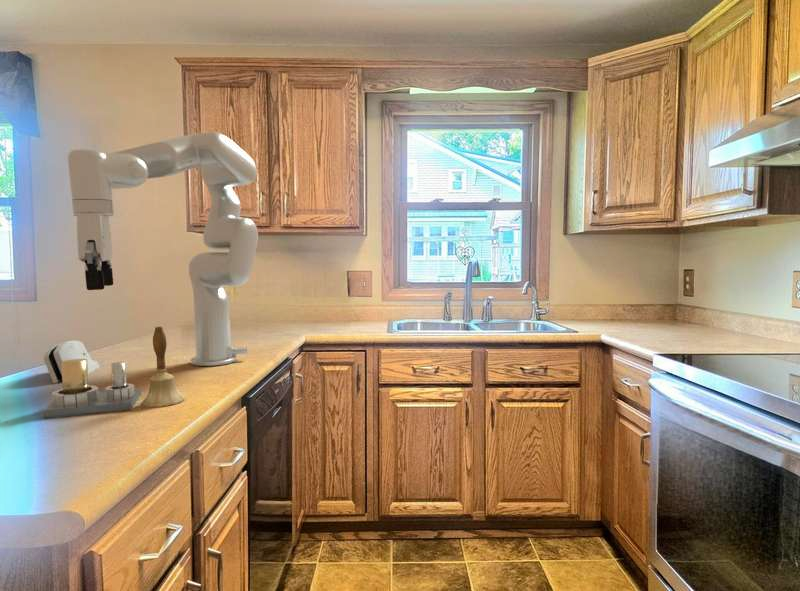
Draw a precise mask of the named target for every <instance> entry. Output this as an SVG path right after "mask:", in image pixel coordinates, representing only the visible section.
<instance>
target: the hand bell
mask: <svg viewBox="0 0 800 591" xmlns="http://www.w3.org/2000/svg"><path fill="white" fill-rule="evenodd" d="M153 332H154V333H153V335H152V345H153V346H152V347H153V350H154V353H155V355H156V356H155V357H156V369H157V370H156V374H155V375H153V376H152V377H151V378H150V382H149V389H148V392H147V395H146V397H145V398H144V399H143V400H142V402H141V406H142V407H145V406H147V407H146V408H163V407H169V406H174V405H177V404H180V403H182V402H184V401H185V399H186V398H185V395H183V394H182V393H181V392H180V390H178V388H177V385H176V383H175V376H174V375H173V374H171V373H168V372H167V368H166V357H165V356H166V352H167V344H168V343H167V336H166V333H165V332H164V330H163V326H155V327H154V331H153Z"/></svg>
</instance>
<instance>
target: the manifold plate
mask: <svg viewBox="0 0 800 591" xmlns="http://www.w3.org/2000/svg"><path fill="white" fill-rule="evenodd" d="M126 364H127V363H126V362H125V361H117V362H111V364H110V365H111V366H110V367H111V385H109V386H106V387H105V388H104V390H99V386H96V385H91V384H90V385H89V384H88V386H89V391H86V392H82V393H77V394H63V388H60V389H56V390H54V391H53V392H51V403H50V404H49V405H48V406H46V407H45V408H43V410H42V418H43V419H49V418H59V417H60V418H62V417H71V416H83V415H95V414H104V413H103V412H105V413H115V412H124V411H123V410H126V411H132V410H133V408H134V407H135V405H136V404H137V402H136V401H138V400H139V399H140V397H141V395H142V388H141V387H136V388H135V385H134V384H133V383H127V368H126V366H127V365H126ZM139 396H140V397H139ZM138 398H139V399H138ZM133 406H134V407H133ZM131 409H132V410H131Z"/></svg>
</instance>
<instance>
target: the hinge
mask: <svg viewBox="0 0 800 591" xmlns="http://www.w3.org/2000/svg"><path fill="white" fill-rule="evenodd" d="M72 359H87V363H88V375H90V374H91V373H93V372H95V371H96V370H95V369H97V368H98V369H100V368H101V367H100V364H99V362H98V361H97V360H93V359H92V357H91V356H90V354H89V352H88V350H87V347H85V345H84V343H83V342H82V341H79V340H69V341H67V340H66V341H64V342H62V343H58V344H56V345H54V346H53V347H51V348H49V349H48V350H47V351H46V353H45V354H44V356H43V361H44V364H45V366H46V368H47V372H48V373H49V376H50V378H51V381H52V383H53V384H56V383H59V382H60V381H62V361H66V360H72ZM99 367H100V368H99ZM98 369H97V370H98ZM94 370H95V371H94ZM92 371H93V372H92ZM90 372H91V373H90ZM89 373H90V374H89Z"/></svg>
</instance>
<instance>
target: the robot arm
mask: <svg viewBox="0 0 800 591" xmlns="http://www.w3.org/2000/svg"><path fill="white" fill-rule="evenodd" d="M67 163H68V164H67V165H68V172H69V173H68V175H69V182H70V183H69V184H70V192H71V203H72V204H71V206H72V213H73V217H76V238H77V239H76V240H77V241H76V242H77V256H78V260H79V261H80V263H84V273H85V286H86V290H87V291H99V290H104V289H105V287H107V286H108V287H109V286H110V287H111V286H113V285H114V276H113V275H114V274H113V268H112V261H111V259H112V258H113V245H112V244H113V243H112V235H111V226H110V220H109V217H114V216H115V215H114V214H115V213H114V204H113V192H112V190H116V189H117V190H118V189H131V188H137V187H140V186H141V185H143V184H145V182H147V179H148V180H149V179H158V178H165V177H171V176H174V175H177V174H180V173H182V172H185V171H189V170H192V169H196V168H199V167H200V176H201V177H202V181H203V183H204V185H205V186H206V188H207V190H208V193H209V196H210V202H211V203H210V208H209V212H208V216H207V220H206V222H205V226H204V229H203V230H204V231H203V237H202V240H203V243H204V245H205V247H206V248H208V249H210V250H213V252H212V251H211V252H208V251H207V252H201V253H198V254H196V255H195V256H193V257H192V258H191V260H190V261H189V264H188V275H189V278H190V283H191V287H192V293H193V294H192V295H193V312H194V313H193V314H194V316H193V317H194V337H195V338H194V339H195V356H194V357H191V358H190V364H191V365H192V366H200V367H204V366H205V367H209V366H210V367H211V366H221V365H228V364H231V363H234V362H236V361H237V360H238V359H237V358H238V356H237V355H247V354H248V347H246V346H245V347H243V346H240V347H235V346H233V343H231V341H232V340H231V318H230V316H231V315H230V314H231V313H230V299H229V295H228V294H227V291H226V290H225V288H224V287H239V286H243V285H244V284H246V283H247V282H248V280H249V278H250V277H251V273H252V269H253V267H254V266H253V265H254V261H255V256H256V252H257V248H258V243H259V233H258V228H257V225H256V224H255V222H254V221H253V220H252V219H250V218H247V217H243V216H240V215H241V210H242V204H241V202H240V199H239V197H238V196H237V194H236V193H235V191H234V189H233V187H242V186H248V185H251V184H253V183H254V182H255V181H256V179H257V176H258V170H257V165H256V163H255V161H254V160H253V159H252V157H251V156H250V155H249V154H248V153H247V152H246V151H244V149H242V148H241V147H240V146H239V145H237V144H236V143H235V142H234V141H233V140H232V139H230V138H229V137H228V136H226V135H225V134H223V133H221V132H218V131H209V132H202V133H201V132H200V133H192V134H187V135H182V136H178V137H173V138H168V139H164V140H160V141H155V142H151V143H148V144H147V143H146V144H144V145H141V146H140V145H139V146H136V147H132V148H129V149H123V150H119V151H114V152H110V153H108V152H107V153H106V152H102V151H100V150H93V149H74V150H71V151H70V152H69V153H68V154H67ZM214 251H215V252H214ZM221 251H223V252H221ZM224 251H225V252H224ZM226 251H227V252H226Z"/></svg>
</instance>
